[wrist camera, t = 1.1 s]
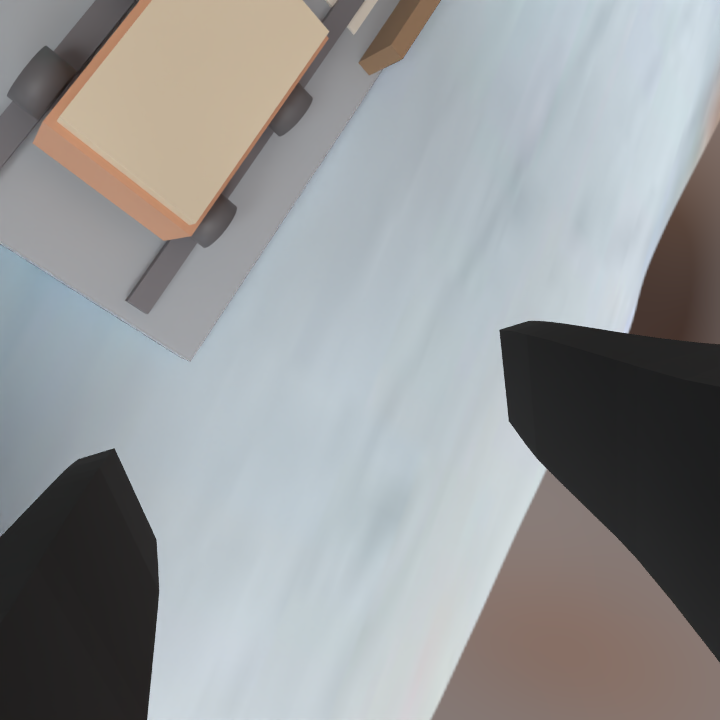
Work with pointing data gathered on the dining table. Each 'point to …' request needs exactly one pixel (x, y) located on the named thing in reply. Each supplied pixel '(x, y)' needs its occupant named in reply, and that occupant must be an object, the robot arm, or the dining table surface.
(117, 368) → the dining table surface
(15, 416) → the dining table surface
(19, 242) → the dock
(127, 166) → the cart
